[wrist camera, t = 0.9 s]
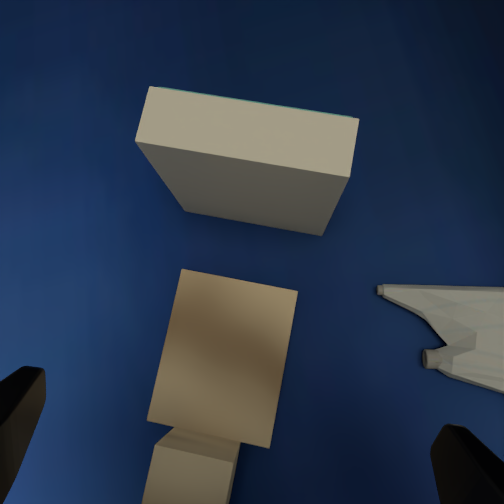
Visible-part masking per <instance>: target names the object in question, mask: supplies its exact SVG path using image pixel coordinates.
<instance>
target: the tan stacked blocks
mask: <svg viewBox="0 0 504 504" xmlns="http://www.w3.org/2000/svg"><path fill="white" fill-rule="evenodd" d="M297 293H298V291H294V290H289V289H284V288H278V287H273V286H268V285H263V284H258V283H252V282H247V281H242V280H237V279H232V278H227V277H221V276H216V275H211V274H206V273H201V272H196V271H190V270H185V269H182V270H181V275H180V279H179V283H178V288H177V292H176V296H175V301H174V305H173V309H172V314H171V318H170V322H169V326H168V331H167V335H166V339H165V344H164V348H163V352H162V357H161V361H160V365H159V369H158V374H157V378H156V382H155V387H154V391H153V395H152V400H151V404H150V408H149V413H148V417H147V421H151V422H155V423H160V424H164V425H168V426H173V427H174V428H173V429H172V430H171V431H170V432H168V433H167V434H166V435H165V436H164V437H163V438H162V439H161V440H160V441H159V442H157V443H156V444H155V447H154V451H153V455H152V460H151V464H150V469H149V473H148V478H147V482H146V486H145V491H144V495H143V500H142V504H229V501H230V496H231V491H232V486H233V480H234V475H235V470H236V465H237V460H238V454H239V449H240V444H241V442H243V443H247V444H252V445H256V446H261V447H265V448H270V443H271V437H272V432H273V426H274V421H275V415H276V410H277V404H278V399H279V393H280V387H281V382H282V376H283V371H284V365H285V360H286V354H287V349H288V343H289V338H290V332H291V327H292V321H293V316H294V310H295V305H296V299H297Z"/></svg>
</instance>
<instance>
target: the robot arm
mask: <svg viewBox="0 0 504 504" xmlns="http://www.w3.org/2000/svg"><path fill="white" fill-rule="evenodd" d="M45 400H46V381H45V371H44V369H43V368H39V367H32V366H23V367H21V368H19V369H18V370H16V371H15V372H13V373H12V374H10V375H9V376H7V377H6V378H5V379H3V380H2V381H0V504H3V502H4V500H5V498H6V496H7V495H8V493H9V491H10V489H11V487H12V484H13V482H14V480H15V478H16V476H17V473H18V471H19V469H20V466H21V464H22V461H23V458H24V456H25V453H26V451H27V448H28V446H29V443H30V441H31V438H32V435H33V433H34V430H35V428H36V425H37V423H38V420H39V417H40V415H41V412H42V410H43V407H44V404H45ZM430 456H431V461H432V466H433V471H434V476H435V480H436V485H437V490H438V495H439V499H440V504H504V462H503V461H502V460H501V459H500V458H499V457H497V456H496V455H495V454H494V453H493V452H492V451H491V450H490V449H489V448H488V447H487V446H486V445H484V444H483V443H482V442H481V441H480V440H479V439H478V438H477V437H476V436H475V435H474V434H473V433H471V432H470V431H469V430H468V429H467V428H466V427H464V426H462V425H455V424H446V425H444V426H443V427H442V429H441V431H440V432H439V434H438V436H437V437H436V439H435V441H434V442H433V444H432V446H431V451H430Z"/></svg>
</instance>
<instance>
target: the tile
mask: <svg viewBox="0 0 504 504" xmlns="http://www.w3.org/2000/svg"><path fill="white" fill-rule="evenodd" d="M358 123H359V119H356V118H352V117H350V116H344V115H337V114H331V113H324V112H318V111H312V110H305V109H299V108H292V107H286V106H279V105H273V104H267V103H260V102H254V101H247V100H241V99H234V98H228V97H222V96H215V95H209V94H202V93H196V92H189V91H183V90H177V89H170V88H164V87H158V88H157V87H151V86H150V87H149V90H148V94H147V98H146V102H145V105H144V109H143V113H142V117H141V120H140V124H139V128H138V131H137V135H136V139H135V142H136V143H137V145H138V146H139V148H140V149H141V150H142V152H143V153H144V155H145V156H146V157H147V159H148V160H149V162H150V163H151V164H152V166H153V167H154V169H155V170H156V171H157V173H158V174H159V176H160V177H161V178H162V180H163V181H164V183H165V184H166V185H167V187H168V188H169V190H170V191H171V192H172V194H173V195H174V197H175V198H176V199H177V201H178V202H179V203H180V205H181V206H182V208H183V209H184V210H185V211H186V212H192V213H197V214H203V215H209V216H214V217H220V218H225V219H231V220H236V221H242V222H247V223H253V224H258V225H264V226H269V227H275V228H280V229H286V230H291V231H297V232H302V233H308V234H313V235H319V236H322V235H323V233H324V230H325V228H326V226H327V224H328V222H329V220H330V218H331V215H332V213H333V211H334V209H335V207H336V205H337V203H338V201H339V198H340V196H341V194H342V192H343V190H344V188H345V186H346V184H347V181H348V179H349V177H350V171H351V165H352V159H353V153H354V147H355V141H356V135H357V129H358Z"/></svg>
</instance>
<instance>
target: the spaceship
mask: <svg viewBox="0 0 504 504" xmlns="http://www.w3.org/2000/svg"><path fill="white" fill-rule="evenodd" d="M377 295H382V296H383V297H384V298H386V299H388V300H390V301H392V302H394V303H396V304H398V305H400V306H402V307H404V308H406V309H408V310H410V311H412V312H414V313H416V314H417V315H419V316H420V317H422V318H423V319H425V320H426V321H427V322H428V323H429V325H430V326H431V327H432V328H433V329H434V330H435V331H436V333H437V334H438V335H439V336H440V337H441V338H442V339H443V340H444V341H445V342H446V343H447V346H444V347H441V348H438V349H435V350H429V349H424V351H423V356H422V359H423V365H424V367H425V368H427V369H438V370H439V371H441V372H442V373H443V374H445V375H446V376H448V377H451V378H454V379H457V380H461V381H464V382H467V383H471V384H474V385H477V386H481V387H484V388H487V389H490V390H494V391H497V392H500V393H503V394H504V287H474V286H435V285H397V284H383V285H378V286H377Z"/></svg>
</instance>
